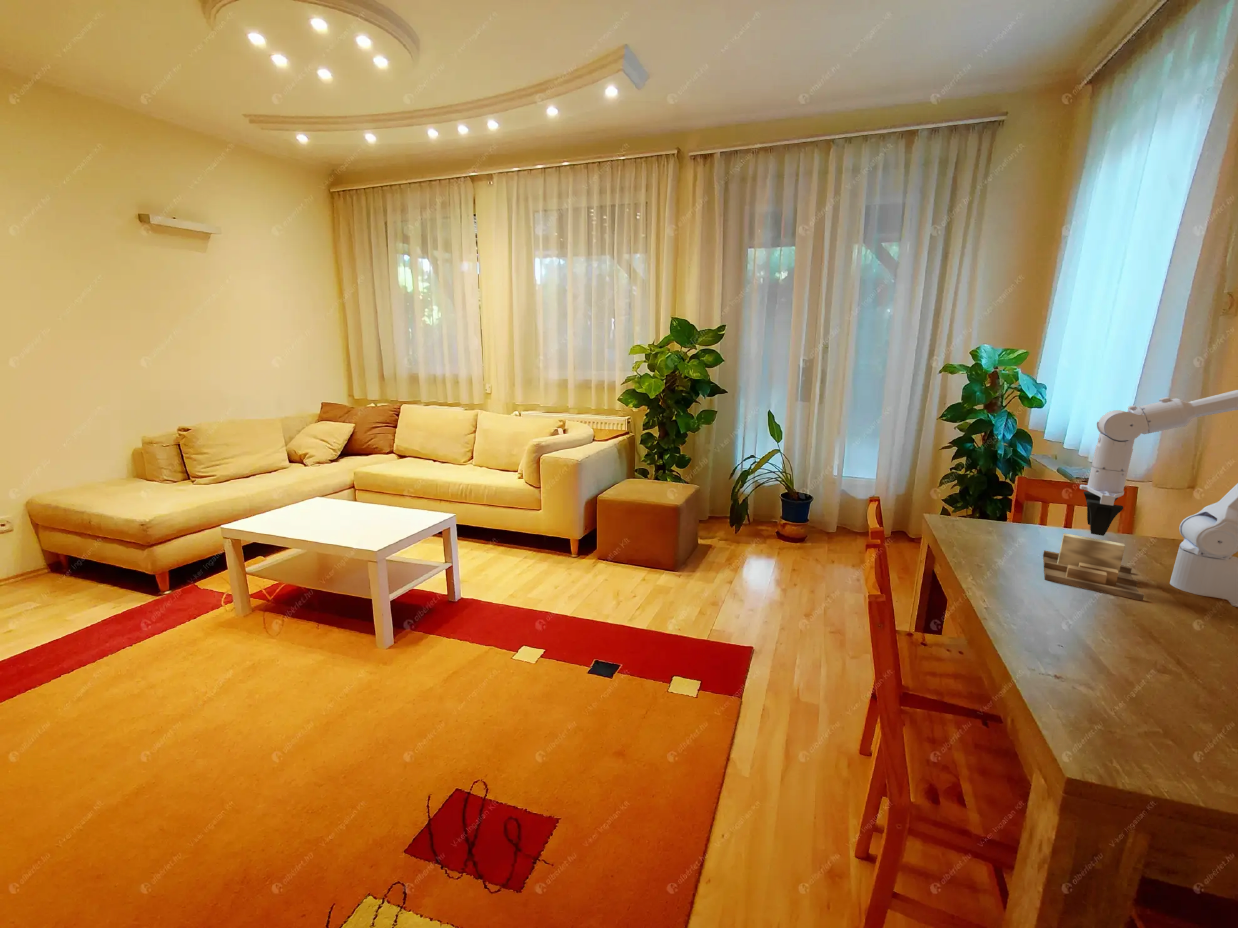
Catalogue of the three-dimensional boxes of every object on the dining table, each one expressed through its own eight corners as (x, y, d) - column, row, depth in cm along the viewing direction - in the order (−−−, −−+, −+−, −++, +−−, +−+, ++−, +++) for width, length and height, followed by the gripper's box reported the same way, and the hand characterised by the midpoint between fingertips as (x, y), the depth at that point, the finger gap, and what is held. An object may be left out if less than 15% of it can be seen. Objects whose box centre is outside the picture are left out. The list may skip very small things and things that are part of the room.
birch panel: (1116, 574, 116) (1123, 543, 114) (1117, 577, 114) (1125, 546, 113) (1057, 562, 122) (1063, 533, 120) (1057, 565, 120) (1064, 535, 118)
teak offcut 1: (1102, 585, 110) (1106, 572, 109) (1103, 589, 108) (1107, 575, 108) (1065, 577, 113) (1068, 564, 113) (1065, 581, 112) (1068, 567, 111)
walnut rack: (1129, 575, 117) (1131, 566, 117) (1141, 604, 104) (1144, 594, 103) (1042, 558, 126) (1044, 550, 125) (1043, 582, 113) (1045, 574, 112)
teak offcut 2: (1114, 583, 111) (1117, 569, 111) (1115, 586, 110) (1118, 572, 109) (1076, 575, 115) (1079, 562, 114) (1077, 578, 113) (1080, 565, 112)
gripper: (1082, 459, 121) (1069, 517, 124) (1087, 471, 109) (1073, 534, 112) (1124, 464, 117) (1110, 524, 120) (1134, 476, 105) (1118, 542, 108)
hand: (1095, 529), depth 116 cm, fingers open, 7 cm apart
